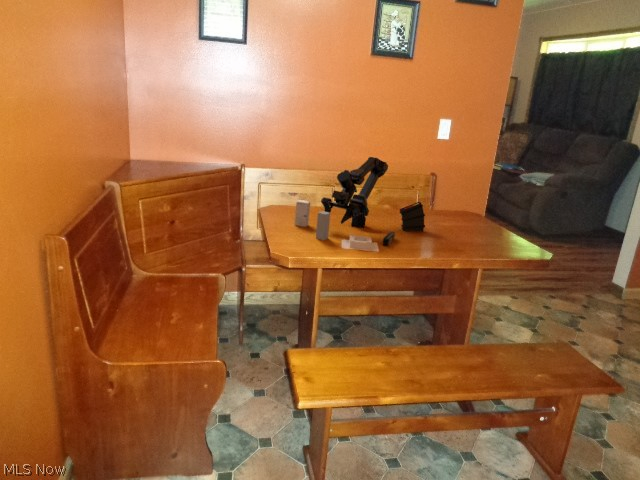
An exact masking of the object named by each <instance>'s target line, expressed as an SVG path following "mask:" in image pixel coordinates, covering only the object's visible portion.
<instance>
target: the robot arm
mask: <svg viewBox="0 0 640 480" xmlns="http://www.w3.org/2000/svg"><path fill="white" fill-rule="evenodd" d="M388 169H389V164H387V162H386V161H382V160H381V159H380V158H378V157H374V156H369V157H368V158H367V160H366V161H365V162H364V163H363V164H362V165H360V166H359V167H358V168H356V169H352V170H348V169H345V170H343V171H341V172H339V173H338V174H337V176H336V179H337V181H338V183H339V185H340V188H342V189H341V191H339V190H333V192H332V194H331V198H333V201H334V202H333V201H332V199H331V198H329V197H322V198H321V200H320V202H321V205H322V206H323V208H324V211H325V212H329V213H330V214H331V212H332V209H333V208H338V209H341V210H345V213H344V214H343V217H342V218H341V221H340V224H341V225H343V224H344V223H346V222H347V221H348V220H351V222H350V226H351V227H352V228H354V227H355V228H365V227H366V219H367V217H368V215H369V212H370V210H369V207H368V199H369V197H370V195H371V193H372V191H373V189H374V188H375V185H376V184H377V182H378V180H379V178H382V177H383V176H384V175H385V173H386V172H387V171H388ZM368 174H369V175H368ZM367 175H368V177H367V178H366V181H365V177H366V176H367ZM363 182H365V183H364V184H363ZM362 184H363V186H362V187H361V189H360V192H359V193H358V194H355V193H357V192H358V190H357V186H361V185H362Z"/></svg>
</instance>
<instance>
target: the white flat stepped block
mask: <svg viewBox="0 0 640 480" xmlns="http://www.w3.org/2000/svg"><path fill="white" fill-rule="evenodd" d="M341 249H345V250H346V249H347V250H355V251H365V252H366V251H368V252H380V249H379V245H378V242H373V240H372V237H370V236H366V235H357V234H354V235H351V234H350V235H349V239H341Z"/></svg>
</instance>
